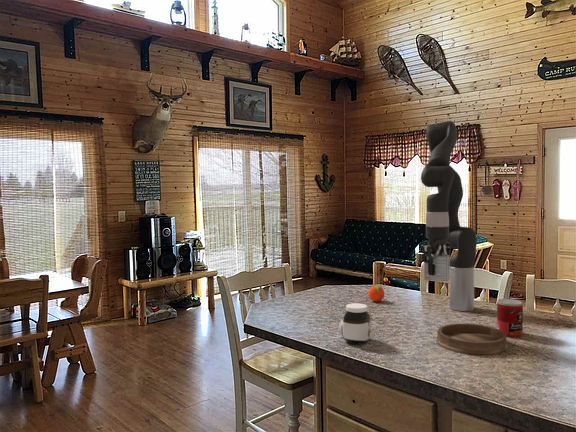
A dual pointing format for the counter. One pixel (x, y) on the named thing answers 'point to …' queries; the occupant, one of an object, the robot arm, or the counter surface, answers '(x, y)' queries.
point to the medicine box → (439, 269)
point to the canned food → (510, 317)
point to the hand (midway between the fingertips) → (437, 273)
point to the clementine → (376, 293)
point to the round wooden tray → (472, 339)
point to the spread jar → (356, 324)
